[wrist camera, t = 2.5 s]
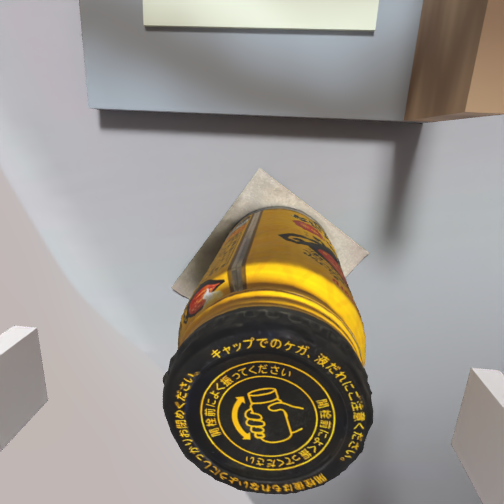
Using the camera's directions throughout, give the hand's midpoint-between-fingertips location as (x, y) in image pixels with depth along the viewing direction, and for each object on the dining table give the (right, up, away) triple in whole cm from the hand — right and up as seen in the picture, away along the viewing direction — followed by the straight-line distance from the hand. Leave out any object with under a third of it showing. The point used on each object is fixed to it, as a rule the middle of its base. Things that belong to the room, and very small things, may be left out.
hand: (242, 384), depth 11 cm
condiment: (+1, +3, +9) cm, 10 cm away
